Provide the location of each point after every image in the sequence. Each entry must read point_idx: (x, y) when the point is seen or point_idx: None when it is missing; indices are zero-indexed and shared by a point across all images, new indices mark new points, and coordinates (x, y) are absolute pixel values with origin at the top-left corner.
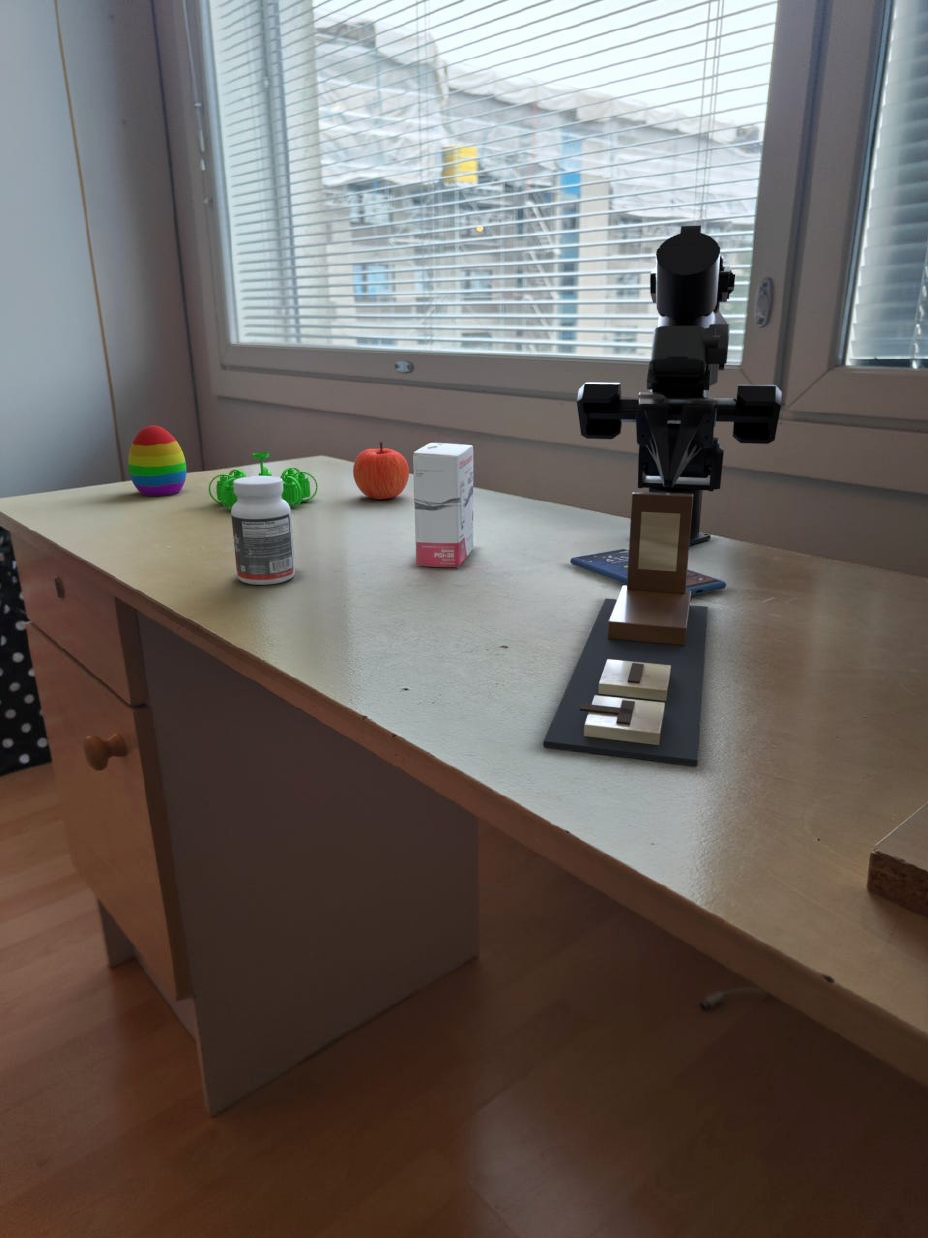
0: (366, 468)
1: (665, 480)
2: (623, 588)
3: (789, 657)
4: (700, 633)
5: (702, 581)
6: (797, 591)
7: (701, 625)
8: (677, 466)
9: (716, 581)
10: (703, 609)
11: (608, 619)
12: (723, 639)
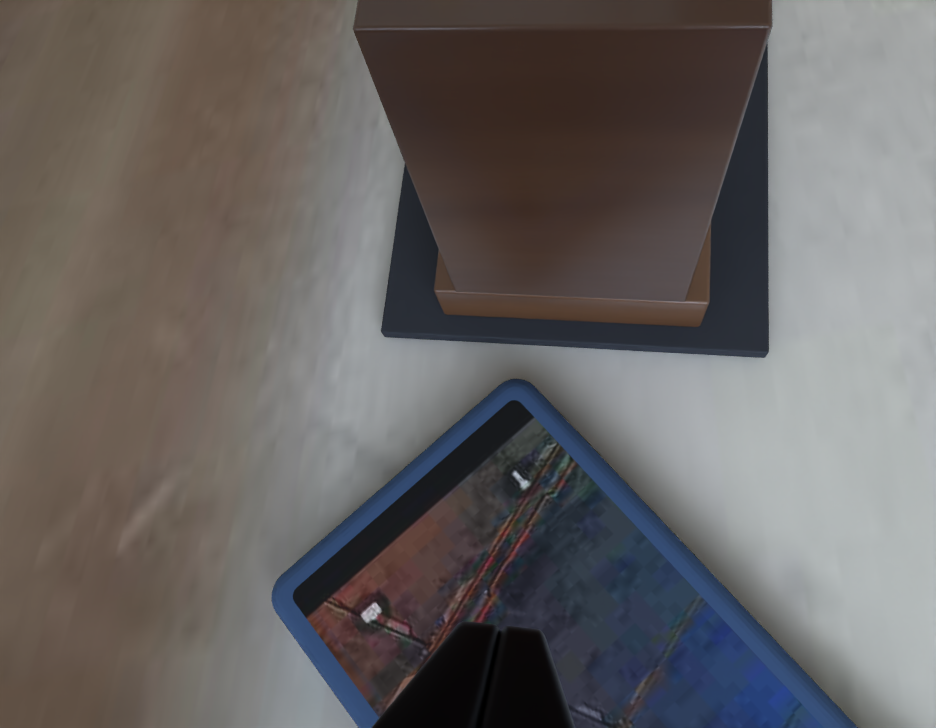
0: None
1: (527, 630)
2: (701, 263)
3: (222, 15)
4: None
5: (368, 574)
6: (6, 646)
7: None
8: (393, 712)
9: (309, 586)
10: (400, 292)
11: None
12: (369, 95)
